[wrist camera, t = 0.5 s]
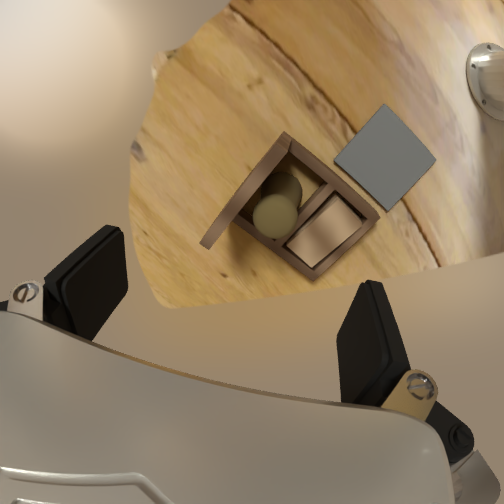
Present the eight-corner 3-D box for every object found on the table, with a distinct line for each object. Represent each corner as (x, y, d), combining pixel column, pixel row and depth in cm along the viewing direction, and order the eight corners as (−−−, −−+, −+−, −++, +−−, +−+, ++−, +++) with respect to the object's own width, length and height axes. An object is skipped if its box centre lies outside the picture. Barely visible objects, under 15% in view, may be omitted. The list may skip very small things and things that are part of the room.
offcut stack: (335, 191, 40) (338, 199, 37) (358, 215, 41) (362, 225, 38) (288, 234, 45) (286, 245, 42) (311, 255, 46) (311, 267, 43)
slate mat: (383, 103, 32) (384, 103, 32) (434, 158, 34) (436, 159, 34) (333, 159, 38) (333, 160, 37) (386, 209, 40) (387, 211, 39)
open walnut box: (283, 131, 37) (275, 143, 27) (376, 211, 40) (398, 251, 30) (224, 206, 44) (199, 243, 34) (313, 272, 47) (312, 323, 37)
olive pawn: (299, 169, 39) (297, 193, 30) (304, 209, 42) (304, 244, 33) (257, 174, 41) (241, 200, 31) (264, 213, 43) (252, 249, 34)
